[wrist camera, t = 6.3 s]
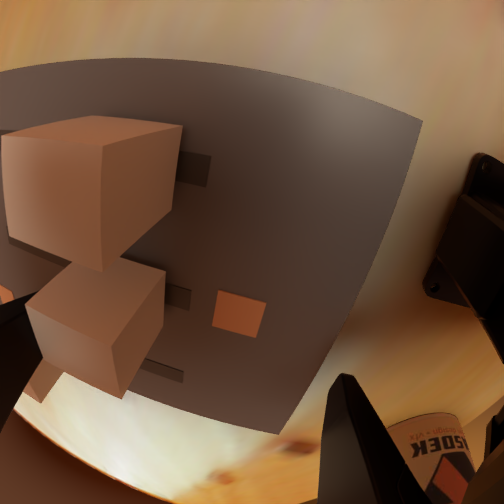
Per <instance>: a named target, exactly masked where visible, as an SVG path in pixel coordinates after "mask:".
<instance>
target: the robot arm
mask: <svg viewBox="0 0 504 504" xmlns="http://www.w3.org/2000/svg"><path fill="white" fill-rule="evenodd" d="M485 161H486V163H487V168H486V169H485V171H483V169H482V166H483V163H484V162H485ZM434 283H437V284H436V286H434V287H432V288H430V287H431V286H432V284H434ZM423 289H424V291H425V293H426V294H427V296H429V297H432V298H435V299H439V300H443V301H447V302H450V303H454V304H458V305H461V306H465V307H469V308H471V310H472V311H473V313H474V315H475V316H476V317H477V318H478V319H479V321H480V323H481V324H482V326H483V328H484V330H485V331H486V333H487V335H488V337H489V338H490V340H491V342H492V344H493V346H494V348H495V350H496V351H497V353H498V355H499V357H500V359H501V361H502V363H503V364H504V164H503V163H502V162H500V161H498V160H497V159H495V158H494V157H492V156H490V155H487V154H484V153H479V154H478V155H476V156H475V158H474V160H473V163H472V166H471V170H470V173H469V176H468V178H467V181H466V184H465V187H464V190H463V193H462V195H461V197H459V198H458V201H457V203H456V206H455V208H454V211H453V213H452V216H451V218H450V221H449V223H448V226H447V228H446V230H445V233H444V235H443V237H442V239H441V242H440V244H439V246H438V248H437V250H436V256H435V259H434V261H433V263H432V265H431V267H430V269H429V271H428V273H427V275H426V277H425V279H424V281H423ZM39 291H40V290H39ZM39 291H37V292H34V293H31V294H28V295H26V296H23V297H20V298H17V299H15V300H12V301H9V302H6V303H4V304H1V305H0V433H1V431H2V429H3V427H4V425H5V423H6V421H7V419H8V417H9V415H10V413H11V412H12V410H13V408H14V406H15V404H16V403H17V401H18V399H19V397H20V395H21V394H22V392H23V390H24V389H25V387H26V385H27V383H28V382H29V380H30V378H31V377H32V375H33V374H34V372H35V370H36V369H37V367H38V365H39V364H40V362H41V361H42V359H43V356H42V353H41V350H40V348H39V345H38V342H37V340H36V337H35V334H34V331H33V328H32V325H31V322H30V319H29V316H28V313H27V310H26V307H25V304H26V303H27V302H28V301H29V300H30V299H31V298H32V297H33V296H34V295H35V294H36V293H38V292H39ZM317 504H433V503H432V502H431V500H430V499H429V497H428V496H427V495H426V493H425V492H424V490H423V489H422V488H421V486H420V485H419V483H418V481H417V480H416V478H415V477H414V475H413V473H412V472H411V470H410V468H409V467H408V465H407V464H405V460H404V458H403V457H402V455H401V453H400V451H399V450H398V448H397V446H396V445H395V443H394V441H393V440H392V438H391V436H390V435H389V433H388V431H387V430H386V428H385V426H384V425H383V423H382V421H381V420H380V418H379V416H378V415H377V413H376V411H375V410H374V408H373V406H372V405H371V403H370V401H369V400H368V398H367V396H366V395H365V393H364V392H363V390H362V388H361V387H360V385H359V383H358V382H357V380H356V378H355V377H354V376H353V375H350V374H344V373H341V374H339V376H338V377H337V379H336V380H335V382H334V383H333V385H332V386H331V388H330V389H329V392H328V396H327V404H326V411H325V417H324V424H323V430H322V437H321V454H320V471H319V486H318V499H317ZM461 504H504V405H503V407H502V408H501V409H500V411H499V412H498V414H497V415H495V416H493V418H492V419H491V421H490V422H489V423H488V425H487V427H486V441H485V453H484V461H483V462H482V464H481V466H480V467H479V469H478V470H477V472H476V473H475V475H474V476H473V478H472V479H471V481H470V482H469V484H468V486H467V489H466V492H465V494H464V497H463V500H462V502H461Z"/></svg>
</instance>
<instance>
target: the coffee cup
mask: <svg viewBox="0 0 504 504" xmlns="http://www.w3.org/2000/svg"><path fill="white" fill-rule="evenodd" d="M386 430H387V431H388V433H389V435H390V436H391V438H392V440H393V441H394V443H395V445H396V446H397V448H398V450H399V451H400V453H401V455H402V457H403V458H404V460H405V464H407V465H408V467H409V468H410V470H411V472H412V473H413V475H414V477H415V478H416V480H417V481H418V483H419V485H420V486H421V488H422V489H423V490H424V492H425V493H426V495H427V496H428V497H429V499H430V500H431V502H432V503H433V504H461V502H462V500H463V497H464V494H465V492H466V489H467V486H468V484H469V482H470V481H471V479H472V478H473V476H474V475H475V473H476V470H475V467H474V464H473V460H472V457H471V454H470V451H469V448H468V445H467V442H466V439H465V436H464V433H463V431H462V428H461V426H460V423H459V421H458V419H457V418H456V417H455V416H453V415H452V414H448V413H433V414H427V415H422V416H418V417H414V418H411V419H408V420H405V421H403V422H400V423H398V424H395V425H393V426H391V427H389V428H387V429H386Z"/></svg>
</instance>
